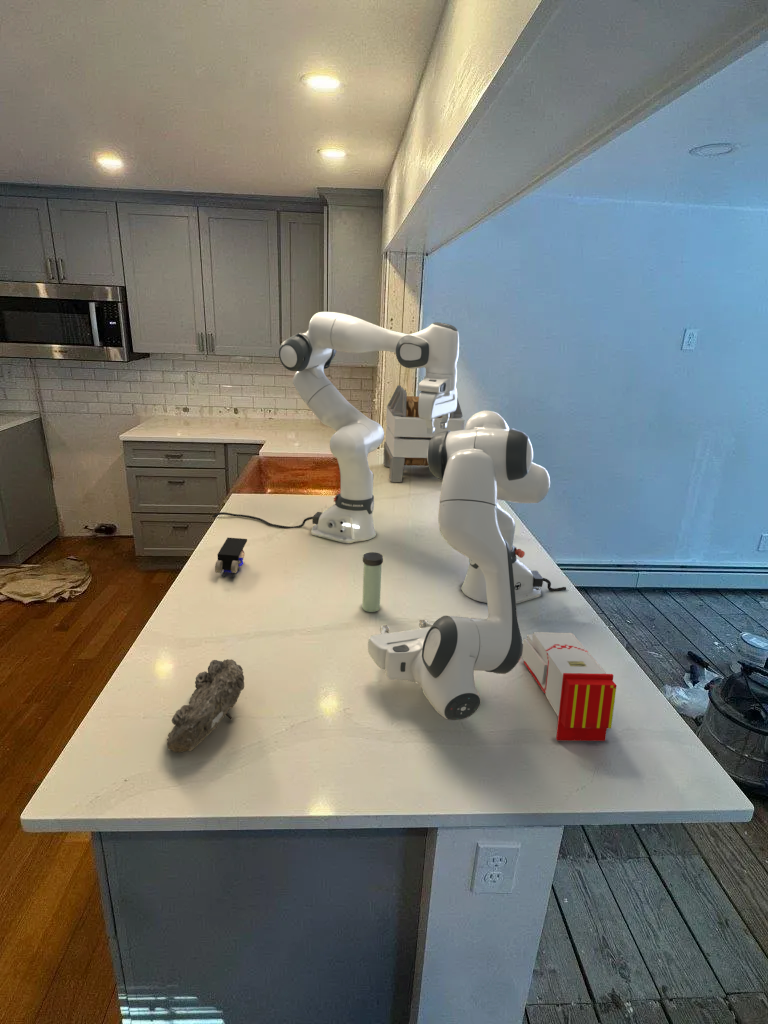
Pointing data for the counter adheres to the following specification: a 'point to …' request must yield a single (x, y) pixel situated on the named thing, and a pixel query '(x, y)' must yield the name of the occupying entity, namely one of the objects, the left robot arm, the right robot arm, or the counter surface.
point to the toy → (571, 685)
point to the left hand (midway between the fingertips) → (437, 430)
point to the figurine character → (230, 556)
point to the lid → (372, 558)
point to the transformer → (410, 433)
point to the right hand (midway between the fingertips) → (402, 625)
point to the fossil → (206, 705)
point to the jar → (371, 588)
